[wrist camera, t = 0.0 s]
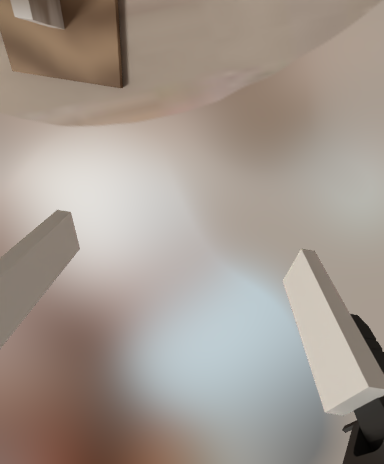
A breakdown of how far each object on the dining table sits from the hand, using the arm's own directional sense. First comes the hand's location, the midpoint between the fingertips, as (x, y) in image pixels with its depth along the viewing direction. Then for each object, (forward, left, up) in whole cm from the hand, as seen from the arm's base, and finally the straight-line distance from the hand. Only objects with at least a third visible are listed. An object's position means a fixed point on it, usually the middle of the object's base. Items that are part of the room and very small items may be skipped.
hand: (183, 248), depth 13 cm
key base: (-13, -21, -28) cm, 38 cm away
